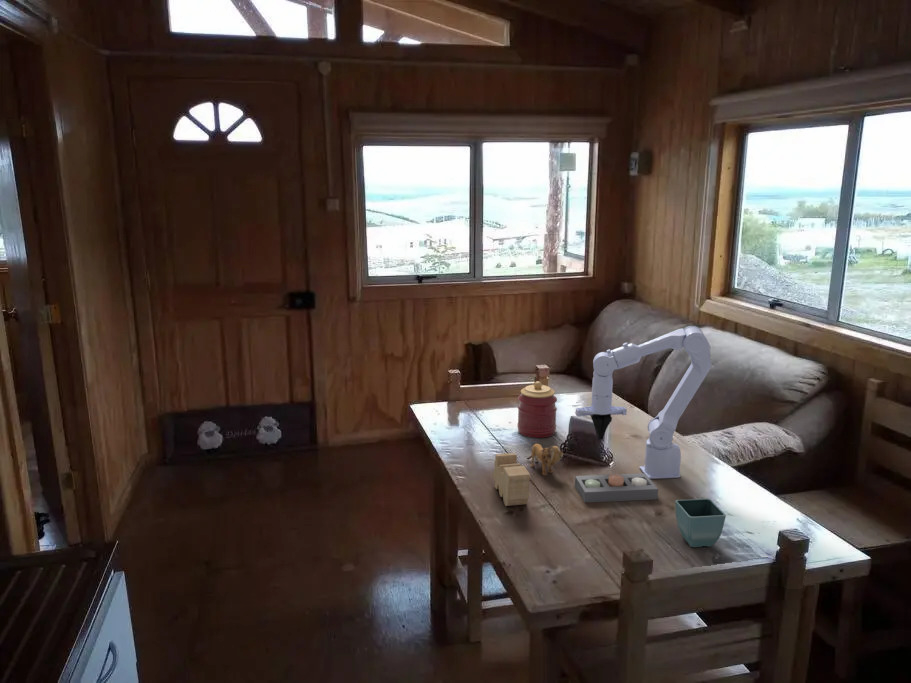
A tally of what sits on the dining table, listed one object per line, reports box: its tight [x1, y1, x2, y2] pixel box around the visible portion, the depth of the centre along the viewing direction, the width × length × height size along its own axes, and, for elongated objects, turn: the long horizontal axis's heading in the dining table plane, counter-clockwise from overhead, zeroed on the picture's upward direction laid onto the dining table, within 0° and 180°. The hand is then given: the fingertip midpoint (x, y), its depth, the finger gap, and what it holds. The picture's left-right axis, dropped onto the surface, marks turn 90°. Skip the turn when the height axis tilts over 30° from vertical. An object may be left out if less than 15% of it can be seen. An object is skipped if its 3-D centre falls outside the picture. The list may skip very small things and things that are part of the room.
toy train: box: [492, 452, 531, 507], centre depth 185 cm, size 6×17×10 cm, turn 11°
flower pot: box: [674, 498, 727, 548], centre depth 162 cm, size 9×9×9 cm
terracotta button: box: [608, 473, 624, 487], centre depth 187 cm, size 4×4×3 cm
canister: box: [516, 380, 558, 439], centre depth 230 cm, size 13×13×18 cm
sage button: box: [585, 479, 600, 488], centre depth 187 cm, size 4×4×3 cm
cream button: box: [631, 478, 647, 486], centre depth 188 cm, size 4×4×3 cm
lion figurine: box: [526, 443, 564, 476], centre depth 202 cm, size 15×5×9 cm, turn 33°
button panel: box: [574, 472, 659, 503], centre depth 187 cm, size 20×10×3 cm, turn 95°
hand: (599, 438), depth 201 cm, fingers closed
